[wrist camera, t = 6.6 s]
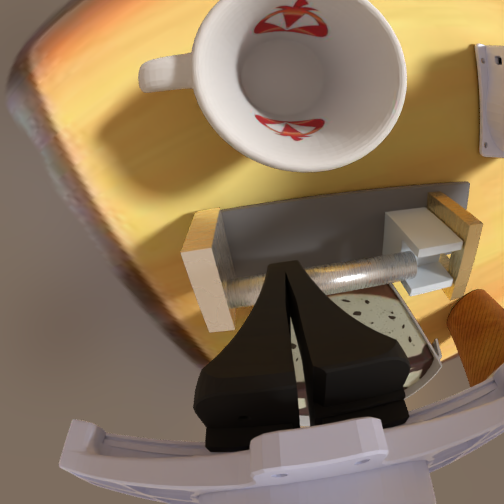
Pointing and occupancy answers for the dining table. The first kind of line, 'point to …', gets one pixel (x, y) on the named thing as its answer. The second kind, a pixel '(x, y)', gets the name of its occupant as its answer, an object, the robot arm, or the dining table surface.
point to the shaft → (248, 288)
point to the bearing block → (421, 246)
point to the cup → (292, 79)
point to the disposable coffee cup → (478, 335)
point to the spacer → (466, 230)
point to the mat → (322, 226)
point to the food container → (388, 323)
